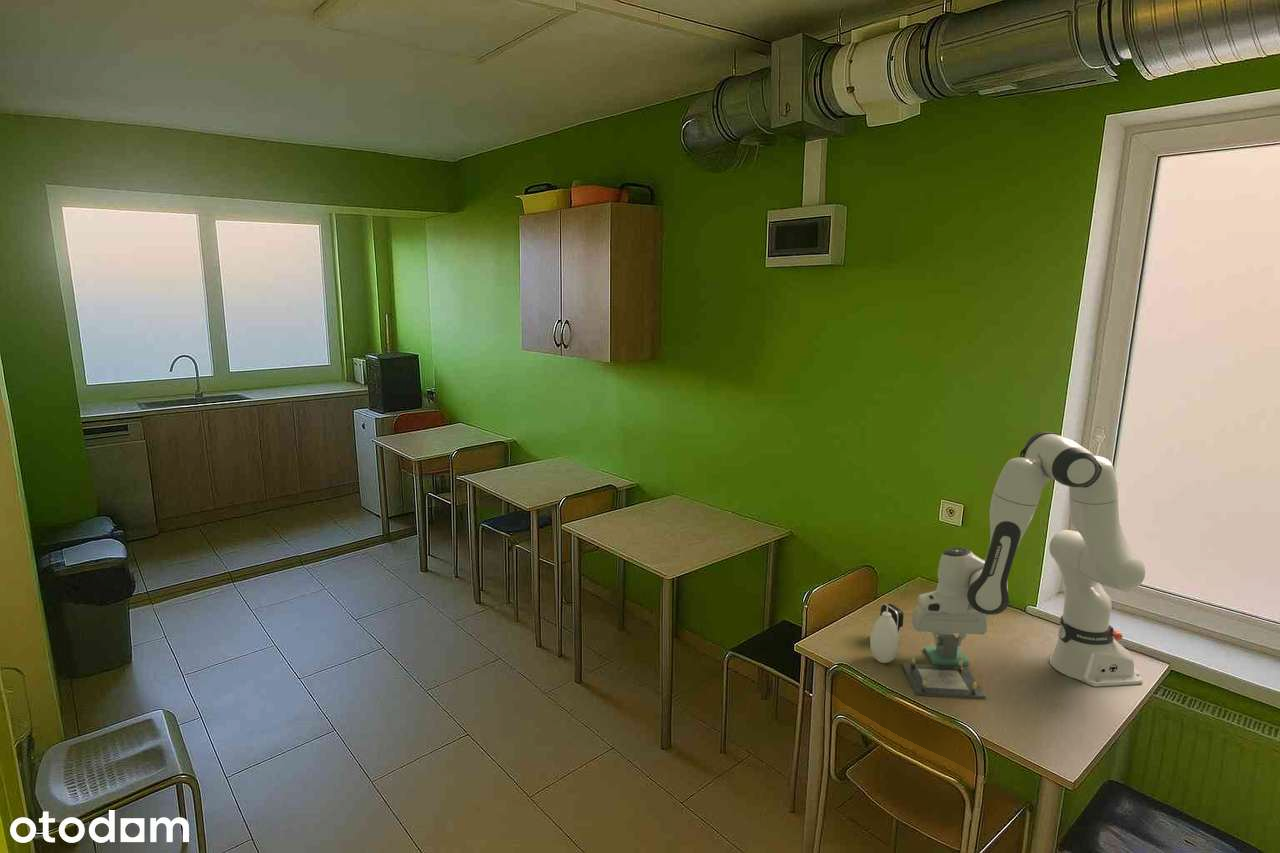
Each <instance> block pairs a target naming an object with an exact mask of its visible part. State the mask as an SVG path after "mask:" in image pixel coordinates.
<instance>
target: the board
mask: <svg viewBox="0 0 1280 853" xmlns="http://www.w3.org/2000/svg"><path fill="white" fill-rule="evenodd" d="M936 636H937V637H940V639H941V645H935V646H923V650H924V652H925V654H926V655H927V657H928V659H929V660H930V661H931V663H932V665H940V666H958V662H959V659H963V666H969V664H970V662H969V660H968V659H967V657H966V656H965V655H964V653H963V652H962V651H961V649H960V648H959V646H958V639H957V636H956V635H955V633H943V632H938V635H936Z"/></svg>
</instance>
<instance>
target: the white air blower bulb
mask: <svg viewBox="0 0 1280 853" xmlns="http://www.w3.org/2000/svg"><path fill="white" fill-rule="evenodd" d="M891 616H892V615H891V613H889V612H888V605H887V609H886V612H883V613H882V615H881V616H880V615H879V617H878V618H877V620H876V621H875V622H874V625H873V627H872V629H871V633H870V641H869V644H870V651H871V653H872V656H873V657H874V659H876V660H877V661H878V662H879V663H882V664H887V663H889V662H892V661H893V659H894V658H895V657H896V656H897V653H898V650H899V646H900V645H899V644H900V637H899V636H900V635H899V632H898V630H897V626H896V623H895V621H894V619H893V618H892V617H891Z"/></svg>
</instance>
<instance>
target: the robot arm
mask: <svg viewBox="0 0 1280 853" xmlns="http://www.w3.org/2000/svg"><path fill="white" fill-rule="evenodd" d="M1051 478H1052V480H1054V481H1056V482H1057V483H1058V484H1061V485H1063V486H1066V487H1069V489H1068V490H1069V494H1068V495H1069V496H1068V497H1069V520H1070V523H1071V524H1072V527H1073V528H1075V530H1070V529H1063V530H1062V529H1061V531H1058V532H1057V533H1055V535H1054V536H1053V537H1052V538H1051V539H1050V542H1049V548H1048V549H1049V554H1050V556H1051V557H1052V559H1053V560H1054V562H1055V563H1056V565H1057V566H1058V569H1059V572H1060V575H1061V578H1062V582H1063V587H1064V588H1063V589H1064V602H1063V612H1062V615H1061V617H1060V620H1059V625H1058V634H1057V635H1058V638H1057V642H1056V644H1055V647H1054V649H1053V652H1052V653H1051V655H1050V657H1049V660H1048V661H1049V663H1050V665H1051V666H1052V667H1053V668H1054V669H1055V670H1057V671H1058V672H1060V673H1061V674H1063V675H1065V676H1067V677H1069V678H1072V679H1075V680H1078V681H1082V682H1083V683H1084V684H1087V685H1089V686H1092V687H1095V688H1096V687H1097V688H1098V687H1108V686H1109V687H1111V686H1112V687H1113V686H1128V685H1142V684H1143V683H1144V682H1143V680H1144V679H1143V676H1142V673H1141V672H1140V671H1139V670H1138V669H1137V668H1136V667H1135V663H1134V659H1133V656H1132V655H1131V653H1130V652H1129V651H1128V650H1127V649H1126V648H1125V647H1124V646H1123V645H1122V644H1121V643H1120V642H1119V641H1120V640H1122V639H1123V637H1124V636H1123V634H1122V633H1121V632H1120V631H1119V630H1116V629H1114V627H1112V625H1110V620H1111V612H1112V609H1113V608H1112V607H1113V605H1112V604H1113V603H1112V599H1111V598H1110V596H1109V594H1107V592H1106V590H1105V588H1104V587H1106V588H1109V589H1111V590H1116V591H1120V592H1125V593H1128V592H1132V591H1135V590H1136V589H1137V588H1138V587H1140V586H1141V585H1142V583H1143V581H1144V579H1145V577H1146V568H1145V565H1144V563H1143V561H1142V560H1141V559H1140V558H1139V557H1138V556H1137V555H1136V553H1134V551H1133V550H1132V548H1131V547H1130V545H1129V542H1128V541H1127V539H1126V537H1125V535H1124V533H1123V532H1124V531H1123V530H1122V526H1121V522H1120V514H1119V512H1120V511H1119V490H1118V489H1119V487H1118V482H1117V476H1116V471H1115V468H1114V465H1113V463H1112V462H1111V461H1110V460H1109V459H1107V458H1106V457H1103V456H1100V455H1094V454H1093V453H1092V452H1091V451H1090V450H1089V449H1087V448H1084V447H1083V446H1082V445H1080V444H1079V443H1077V442H1076V441H1074V440H1072V439H1070V438H1067V437H1065V436H1063V435H1061V434H1059V433H1056V432H1052V431H1040V432H1038V433H1036V434H1034V435H1032V436H1031V437H1030V438H1029V439H1028V440H1027V442H1025V445H1024V447H1023V449H1021V451H1020V455H1019V457H1013V458H1010V459H1009V460H1008V461H1006V463H1005V465H1004V466H1003V468H1002V469H1001V472H1000V474H999V476H998V478H997V481H996V483H995V486H994V489H993V492H992V494H991V499H990V504H989V505H990V506H989V528H990V529H989V530H990V531H989V534H990V536H989V537H990V538H989V539H990V540H989V545H988V546H989V547H988V550H987V553H986V557H985V559H982V557H981V558H980V557H979V556H977V555H976V554H974V552H972V550H970V549H969V548H965V547H959V546H957V547H951V548H947V549H946V550H944V551H943V552H942V554H941V555H940V556H941V557H940V558H939V559H940V560H939V563H938V568H937V569H938V570H937V579H938V584H937V586H936V588H935V590H933V591H930V592H924V593H921V594H918V596H917V600H918V603H917V604H916V605H915V606H914V610H913V615H912V620H911V623H912V626H913V629H914V630H915V631H917V632H922V633H923V632H924V633H927V632H929V633H931V635H932V636H933V637H934V639H933V643H934V645H935V646H937V645H941V639H940V637H937V636H938V632H943V633H953V634H958V635H957V636H956V638H957V639H958V647H961V645H962V644H961V643H962V641H963V640H964V639H965V638H966V636H967V634H968V635H970V634H971V635H985V634H986V633H987V632H988V618H987V617H988V615H989V616H992V615H993V616H994V615H999V614H1001V613H1003V612H1004V611H1005V610H1006V609H1007V608H1008V606H1009V604H1010V597H1009V596H1010V595H1009V588H1008V585H1009V581H1008V578H1009V575H1010V572H1011V569H1012V565H1013V562H1014V560H1015V556H1016V552H1017V549H1018V548H1019V545H1020V543H1021V541H1022V538H1023V537H1024V535H1025V532H1026V531H1027V529H1028V527H1029V525H1030V524H1031V521H1032V520H1033V517H1034V515H1035V513H1036V510H1037V508H1038V505H1039V502H1040V499H1041V494H1042V491H1043V489H1044V487H1045V486H1046V485H1047V484H1048V483H1049V482H1050V481H1051Z"/></svg>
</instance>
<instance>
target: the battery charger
mask: <svg viewBox="0 0 1280 853" xmlns="http://www.w3.org/2000/svg"><path fill="white" fill-rule="evenodd" d="M887 605H888V612H889V613H891V615H892V616H891V617H892V618H893V619H894V621H895V623H896V626H897V630H898V633H900V632H899V631H900V629H901V628H902V627H904V612H903V611H902V609H900V608H899V607H897V606H896V605H894V604H892V603H887V604H886V603H884V604H883V605H881V608H880V613H879V614H880V615H879V617H880V616H881V615H882V613H883V612H886V609H887Z"/></svg>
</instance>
